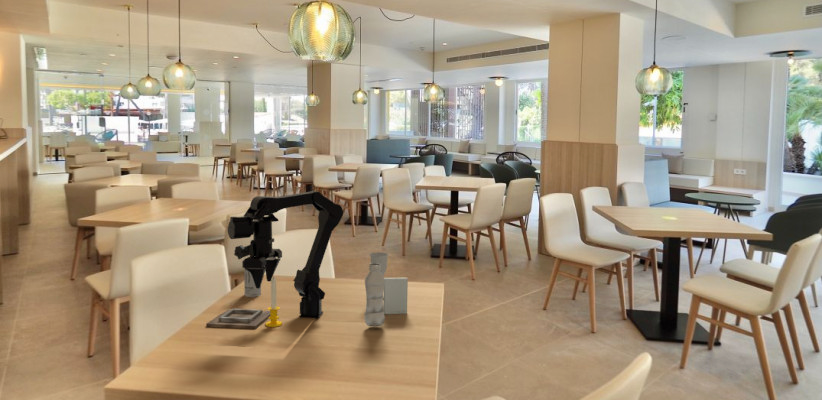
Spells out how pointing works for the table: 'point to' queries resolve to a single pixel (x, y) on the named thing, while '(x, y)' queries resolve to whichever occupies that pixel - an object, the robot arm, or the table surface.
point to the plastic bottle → (374, 296)
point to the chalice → (380, 261)
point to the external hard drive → (395, 295)
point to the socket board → (240, 319)
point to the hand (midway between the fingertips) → (263, 284)
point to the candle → (273, 307)
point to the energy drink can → (250, 285)
